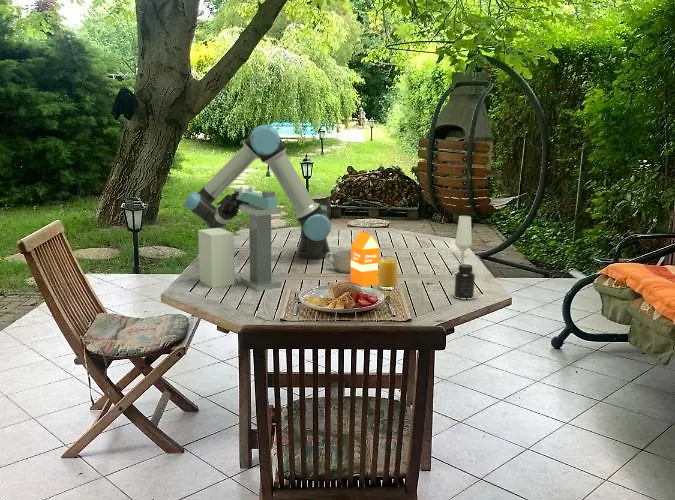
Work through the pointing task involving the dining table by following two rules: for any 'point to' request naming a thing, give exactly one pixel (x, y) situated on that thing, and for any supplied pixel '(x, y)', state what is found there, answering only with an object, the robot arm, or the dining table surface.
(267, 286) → the standard post
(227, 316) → the dining table surface
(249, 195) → the ledger bar
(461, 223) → the champagne flute
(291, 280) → the dining table surface
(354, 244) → the orange juice
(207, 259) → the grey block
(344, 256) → the teacup
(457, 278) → the supplement bottle
